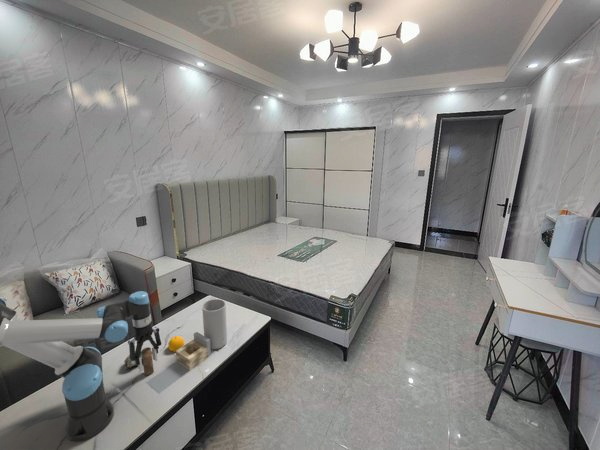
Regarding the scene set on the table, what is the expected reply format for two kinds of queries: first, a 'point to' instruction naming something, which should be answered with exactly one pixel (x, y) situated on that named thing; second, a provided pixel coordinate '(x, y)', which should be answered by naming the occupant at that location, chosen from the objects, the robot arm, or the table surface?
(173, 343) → the orange
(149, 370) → the dowel
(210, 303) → the cylinder vase
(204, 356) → the block
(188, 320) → the table surface
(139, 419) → the table surface
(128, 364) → the mineral specimen
